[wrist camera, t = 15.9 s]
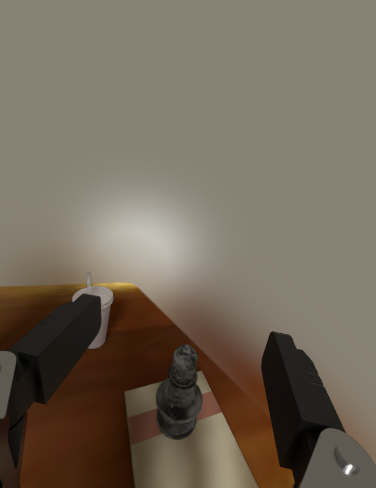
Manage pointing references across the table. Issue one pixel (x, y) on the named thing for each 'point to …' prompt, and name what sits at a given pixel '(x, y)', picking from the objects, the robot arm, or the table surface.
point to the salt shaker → (179, 396)
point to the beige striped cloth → (184, 446)
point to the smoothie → (106, 302)
